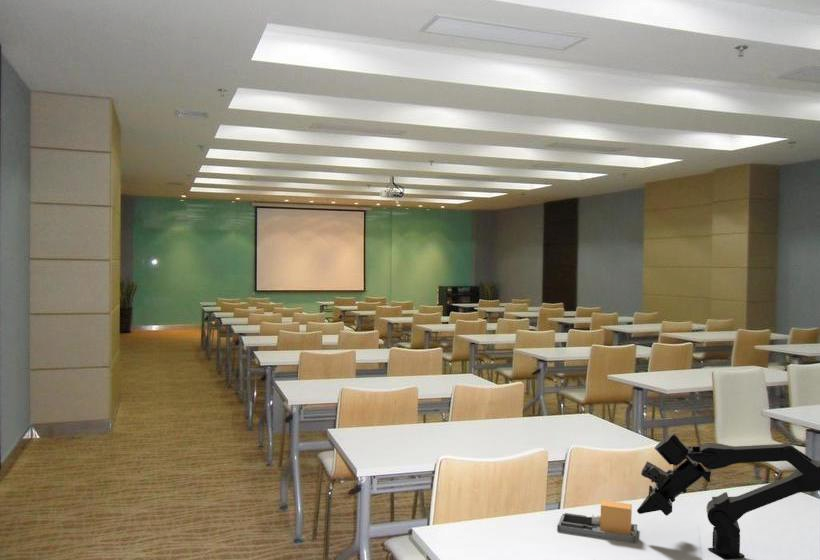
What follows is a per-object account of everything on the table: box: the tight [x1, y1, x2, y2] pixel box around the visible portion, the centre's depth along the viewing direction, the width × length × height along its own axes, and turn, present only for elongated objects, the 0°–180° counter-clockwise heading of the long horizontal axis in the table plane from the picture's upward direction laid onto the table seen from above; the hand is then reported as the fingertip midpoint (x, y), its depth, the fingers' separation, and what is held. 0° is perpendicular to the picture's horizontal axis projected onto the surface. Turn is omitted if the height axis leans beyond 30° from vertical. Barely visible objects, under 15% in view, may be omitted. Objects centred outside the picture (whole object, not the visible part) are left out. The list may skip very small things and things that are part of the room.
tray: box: [556, 512, 638, 544], centre depth 188 cm, size 21×10×3 cm, turn 69°
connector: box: [591, 499, 633, 535], centre depth 187 cm, size 10×4×8 cm, turn 69°
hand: (638, 512), depth 184 cm, fingers closed
